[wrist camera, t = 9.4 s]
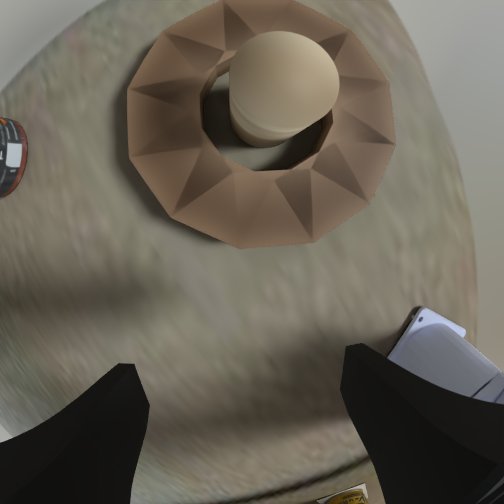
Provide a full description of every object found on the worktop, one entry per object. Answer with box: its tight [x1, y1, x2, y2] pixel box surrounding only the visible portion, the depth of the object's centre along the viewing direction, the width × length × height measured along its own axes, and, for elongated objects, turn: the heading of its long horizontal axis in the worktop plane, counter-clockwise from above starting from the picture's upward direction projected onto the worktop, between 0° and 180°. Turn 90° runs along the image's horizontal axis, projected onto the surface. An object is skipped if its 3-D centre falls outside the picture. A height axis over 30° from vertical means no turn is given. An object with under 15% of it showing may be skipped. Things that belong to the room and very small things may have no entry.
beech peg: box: [229, 31, 339, 148], centre depth 12 cm, size 4×4×7 cm
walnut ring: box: [127, 0, 396, 249], centre depth 14 cm, size 15×15×2 cm
